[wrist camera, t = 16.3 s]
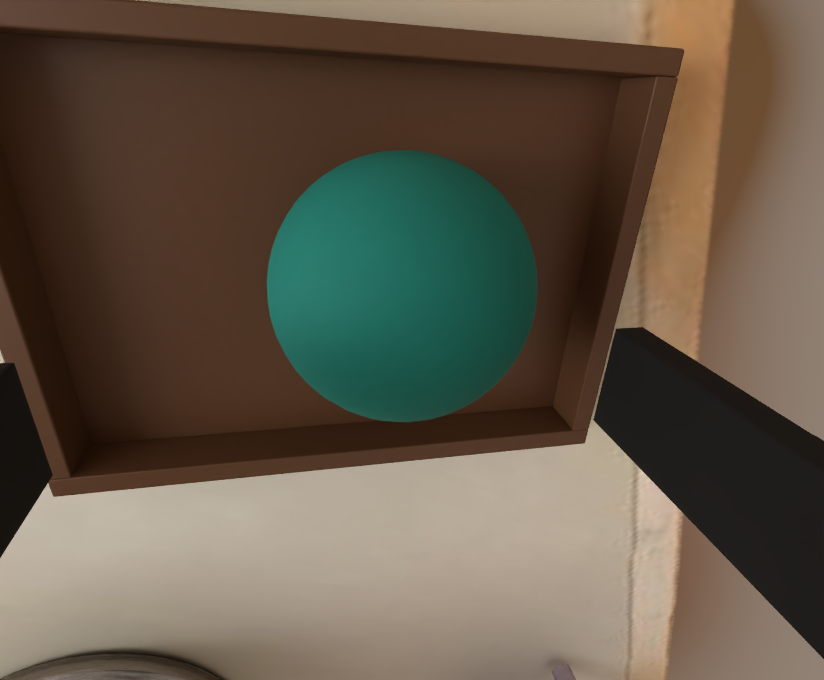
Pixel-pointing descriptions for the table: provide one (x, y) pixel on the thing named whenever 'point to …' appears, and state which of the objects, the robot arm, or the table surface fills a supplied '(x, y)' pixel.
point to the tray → (265, 212)
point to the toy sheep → (563, 673)
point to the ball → (402, 286)
